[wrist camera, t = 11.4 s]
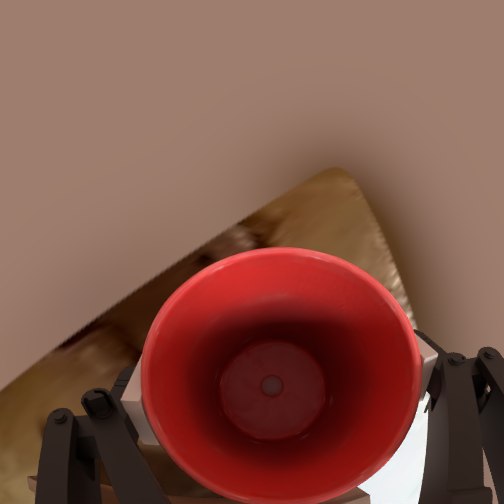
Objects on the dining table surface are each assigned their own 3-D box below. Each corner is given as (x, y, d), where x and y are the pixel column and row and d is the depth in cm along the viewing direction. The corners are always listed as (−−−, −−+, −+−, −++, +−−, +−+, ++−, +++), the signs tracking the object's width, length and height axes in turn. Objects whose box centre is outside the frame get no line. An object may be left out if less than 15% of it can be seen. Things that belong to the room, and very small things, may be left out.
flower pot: (238, 293, 21) (227, 208, 13) (369, 352, 18) (445, 302, 10) (166, 413, 16) (91, 410, 8) (308, 481, 13) (354, 536, 5)
